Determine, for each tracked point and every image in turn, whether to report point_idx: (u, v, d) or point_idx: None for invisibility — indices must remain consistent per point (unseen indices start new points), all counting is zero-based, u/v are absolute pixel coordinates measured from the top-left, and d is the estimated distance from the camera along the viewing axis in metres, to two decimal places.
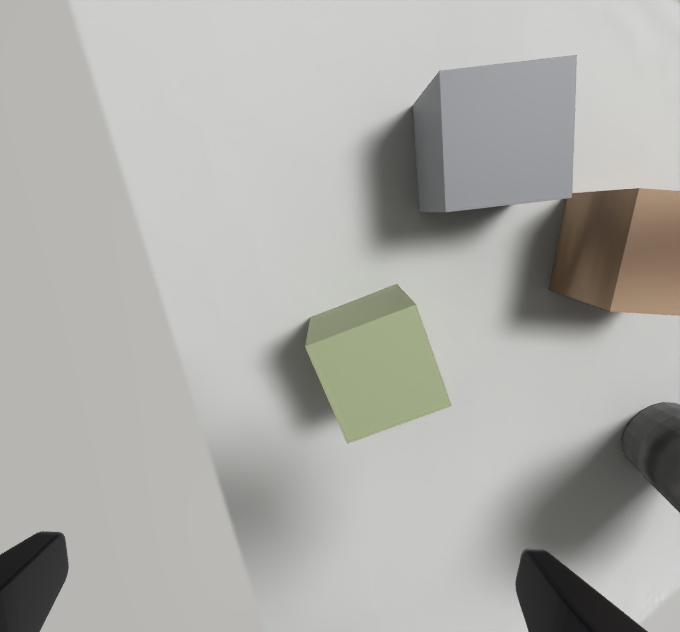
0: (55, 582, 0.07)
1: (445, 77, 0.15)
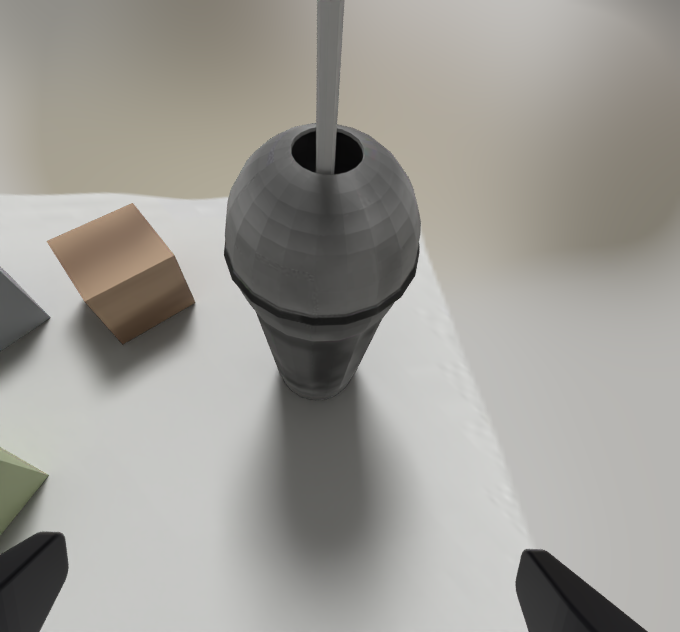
0: (55, 582, 0.07)
1: None
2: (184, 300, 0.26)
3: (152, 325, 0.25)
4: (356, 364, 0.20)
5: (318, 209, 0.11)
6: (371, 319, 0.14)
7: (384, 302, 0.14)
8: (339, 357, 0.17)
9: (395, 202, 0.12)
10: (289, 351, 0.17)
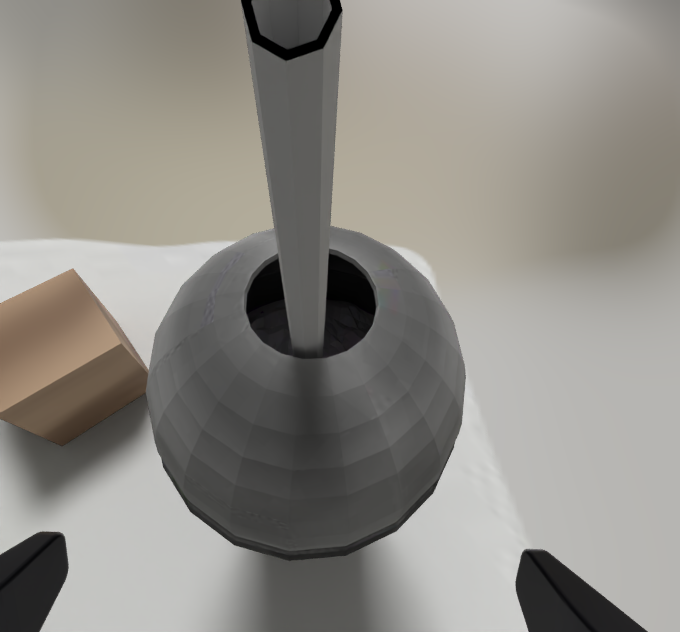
0: (55, 582, 0.07)
1: None
2: (142, 385, 0.20)
3: (101, 418, 0.20)
4: None
5: (293, 425, 0.06)
6: None
7: (408, 514, 0.08)
8: None
9: (433, 381, 0.07)
10: None
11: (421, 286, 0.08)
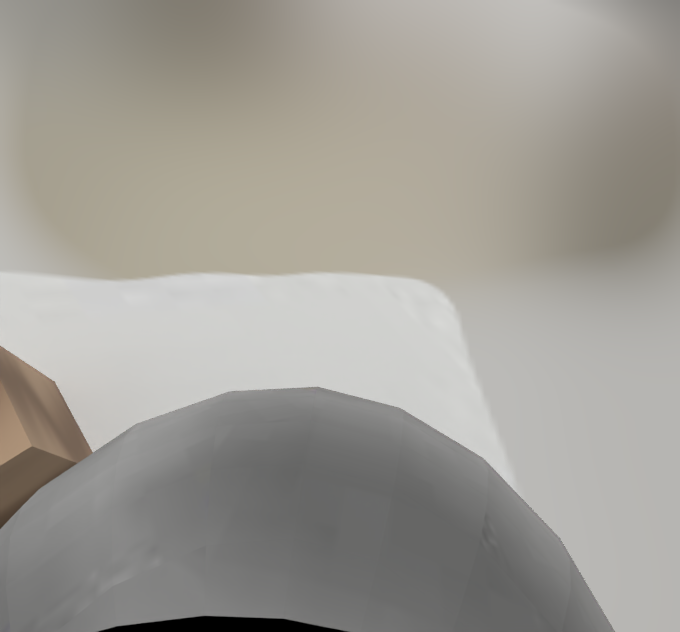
0: None
1: None
2: None
3: None
4: None
5: None
6: None
7: None
8: None
9: None
10: None
11: None
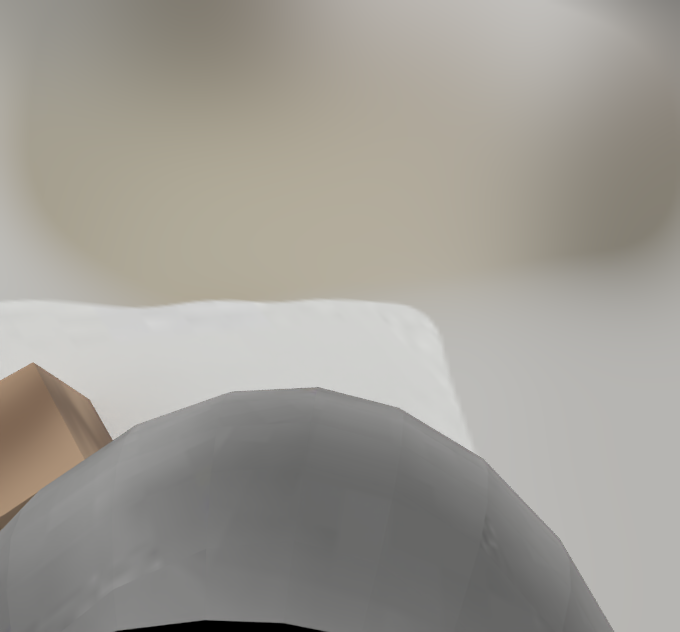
0: None
1: None
2: None
3: None
4: None
5: None
6: None
7: None
8: None
9: None
10: None
11: None
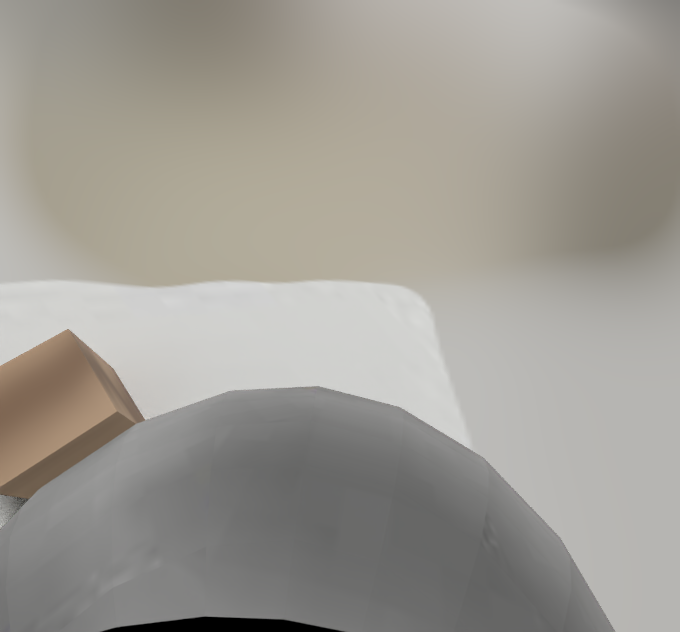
0: None
1: None
2: None
3: None
4: None
5: None
6: None
7: None
8: None
9: None
10: None
11: None
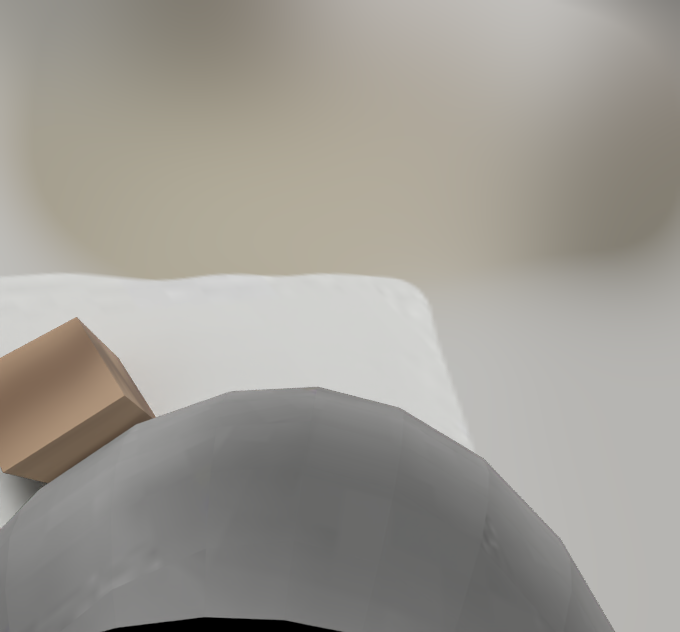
0: None
1: None
2: None
3: None
4: None
5: None
6: None
7: None
8: None
9: None
10: None
11: None
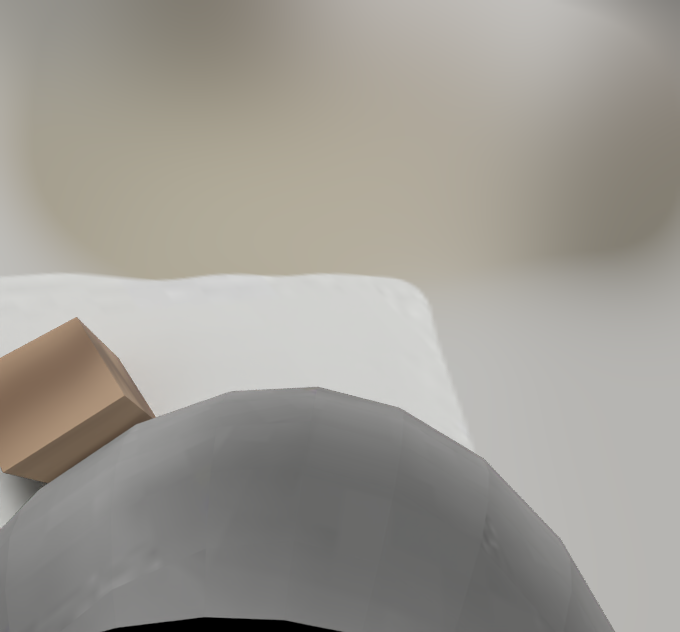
0: None
1: None
2: None
3: None
4: None
5: None
6: None
7: None
8: None
9: None
10: None
11: None
